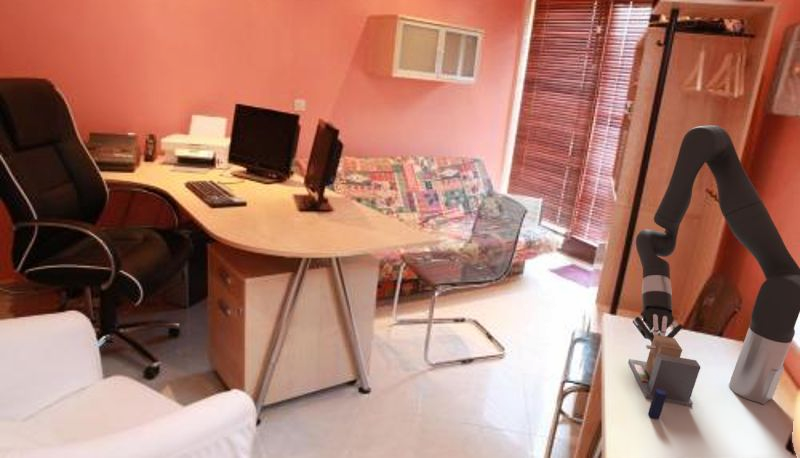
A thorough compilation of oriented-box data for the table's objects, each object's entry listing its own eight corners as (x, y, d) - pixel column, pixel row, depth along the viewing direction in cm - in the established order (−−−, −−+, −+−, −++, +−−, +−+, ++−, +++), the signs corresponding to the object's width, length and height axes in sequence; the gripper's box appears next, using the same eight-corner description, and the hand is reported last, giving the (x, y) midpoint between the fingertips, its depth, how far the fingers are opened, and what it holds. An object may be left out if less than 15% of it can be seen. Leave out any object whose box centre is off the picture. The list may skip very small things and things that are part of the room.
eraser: (656, 414, 127) (664, 389, 125) (659, 420, 125) (667, 395, 123) (647, 412, 127) (654, 387, 125) (650, 418, 125) (657, 393, 123)
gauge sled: (636, 366, 144) (646, 333, 141) (664, 371, 144) (674, 338, 141) (642, 378, 139) (652, 344, 136) (671, 384, 138) (682, 349, 135)
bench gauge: (628, 362, 149) (638, 326, 145) (669, 369, 148) (680, 333, 144) (645, 398, 133) (657, 359, 129) (691, 406, 132) (705, 367, 128)
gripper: (637, 285, 148) (637, 347, 141) (687, 294, 147) (690, 356, 139) (627, 295, 155) (627, 354, 147) (675, 303, 154) (677, 363, 146)
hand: (658, 355), depth 143 cm, fingers closed
